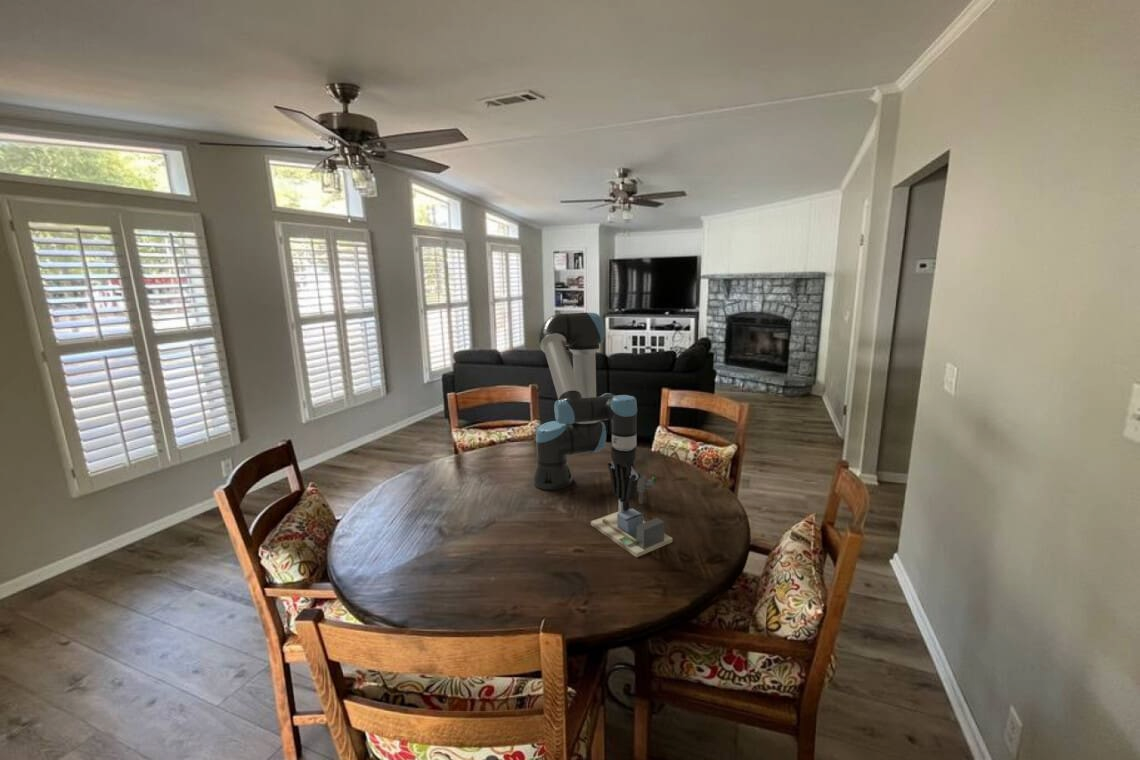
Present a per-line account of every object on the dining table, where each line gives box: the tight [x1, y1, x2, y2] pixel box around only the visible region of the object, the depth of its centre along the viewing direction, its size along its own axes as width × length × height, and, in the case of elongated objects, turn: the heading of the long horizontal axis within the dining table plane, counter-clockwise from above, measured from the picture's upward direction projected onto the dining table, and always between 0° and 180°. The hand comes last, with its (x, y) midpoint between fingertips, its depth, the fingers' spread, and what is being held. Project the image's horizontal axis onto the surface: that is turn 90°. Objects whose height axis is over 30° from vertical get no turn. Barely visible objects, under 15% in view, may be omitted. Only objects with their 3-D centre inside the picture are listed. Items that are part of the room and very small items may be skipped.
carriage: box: [617, 508, 645, 535], centre depth 144 cm, size 5×7×5 cm
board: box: [590, 511, 673, 558], centre depth 144 cm, size 22×14×2 cm, turn 33°
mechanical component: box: [636, 474, 657, 505], centre depth 163 cm, size 3×10×10 cm, turn 78°
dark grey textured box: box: [636, 517, 665, 549], centre depth 136 cm, size 3×8×6 cm, turn 123°
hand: (623, 518), depth 146 cm, fingers closed
